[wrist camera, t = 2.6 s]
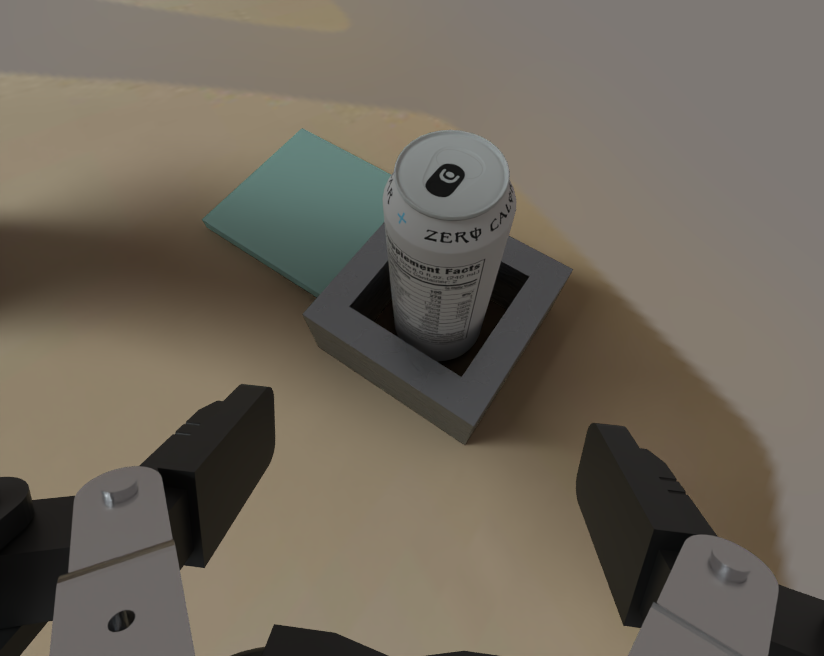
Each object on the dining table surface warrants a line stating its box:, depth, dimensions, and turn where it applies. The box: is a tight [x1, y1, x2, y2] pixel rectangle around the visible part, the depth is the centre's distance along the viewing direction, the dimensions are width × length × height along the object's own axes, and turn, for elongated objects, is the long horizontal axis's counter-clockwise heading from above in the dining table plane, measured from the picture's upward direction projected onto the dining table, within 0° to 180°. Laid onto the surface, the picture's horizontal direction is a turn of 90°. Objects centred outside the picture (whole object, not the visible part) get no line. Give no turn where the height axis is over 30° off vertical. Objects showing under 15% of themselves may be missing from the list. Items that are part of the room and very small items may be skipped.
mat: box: [202, 128, 391, 297], centre depth 37 cm, size 12×12×1 cm
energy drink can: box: [382, 130, 516, 361], centre depth 26 cm, size 6×6×15 cm
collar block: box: [303, 222, 573, 445], centre depth 30 cm, size 12×12×5 cm
